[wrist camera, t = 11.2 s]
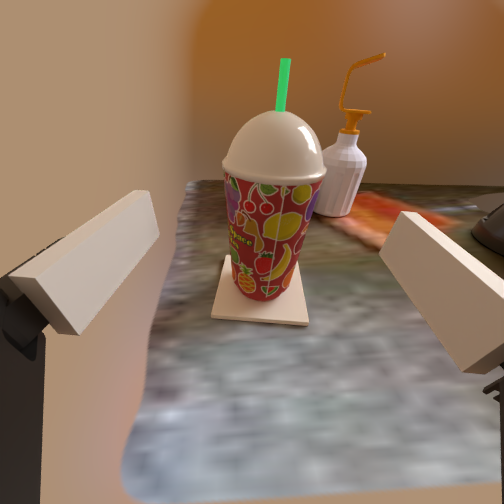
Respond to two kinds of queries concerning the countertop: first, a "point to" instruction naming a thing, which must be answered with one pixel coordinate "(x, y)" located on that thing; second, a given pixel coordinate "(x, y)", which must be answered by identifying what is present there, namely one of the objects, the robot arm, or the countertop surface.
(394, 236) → the robot arm
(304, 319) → the plate
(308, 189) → the smoothie
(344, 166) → the soap bottle
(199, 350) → the countertop surface
